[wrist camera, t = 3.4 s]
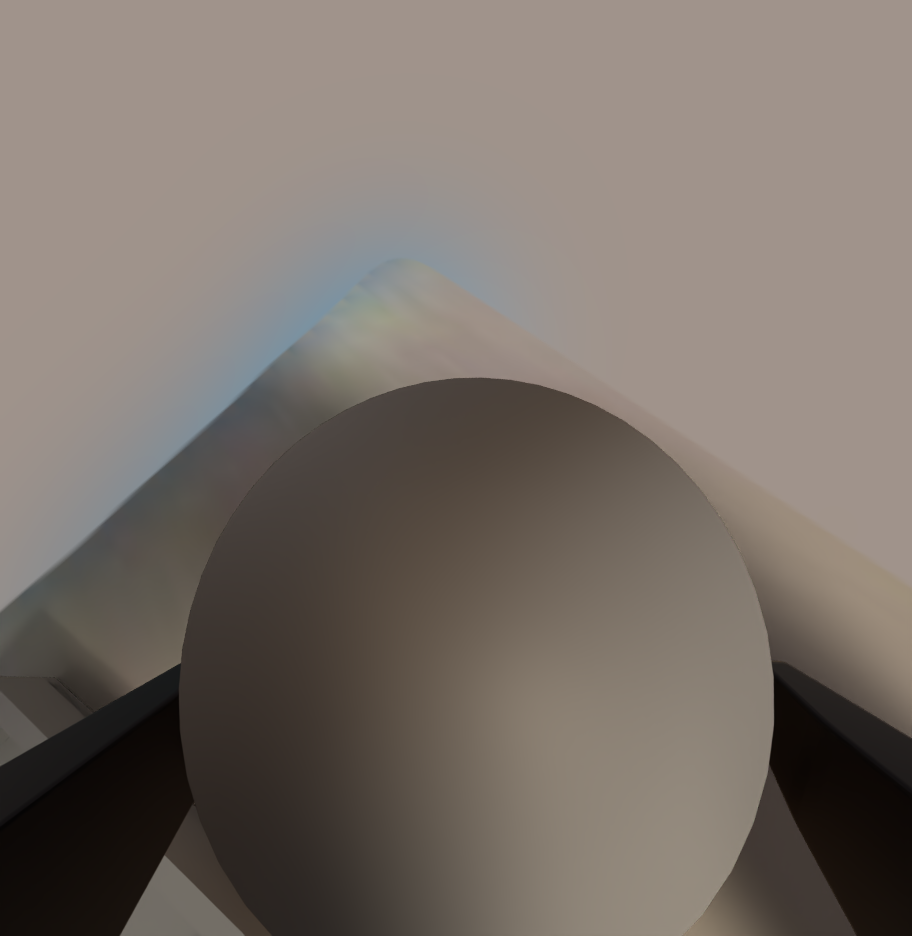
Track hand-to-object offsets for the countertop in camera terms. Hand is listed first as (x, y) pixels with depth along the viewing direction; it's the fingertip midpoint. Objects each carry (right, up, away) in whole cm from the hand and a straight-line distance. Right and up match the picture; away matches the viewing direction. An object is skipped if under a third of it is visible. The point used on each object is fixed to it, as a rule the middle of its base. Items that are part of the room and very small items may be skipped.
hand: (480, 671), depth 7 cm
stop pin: (+1, -4, +8) cm, 8 cm away
